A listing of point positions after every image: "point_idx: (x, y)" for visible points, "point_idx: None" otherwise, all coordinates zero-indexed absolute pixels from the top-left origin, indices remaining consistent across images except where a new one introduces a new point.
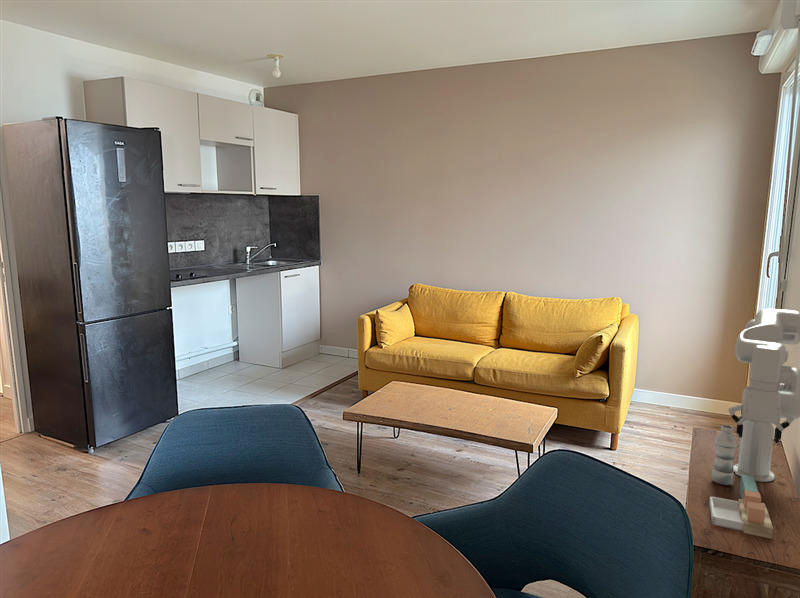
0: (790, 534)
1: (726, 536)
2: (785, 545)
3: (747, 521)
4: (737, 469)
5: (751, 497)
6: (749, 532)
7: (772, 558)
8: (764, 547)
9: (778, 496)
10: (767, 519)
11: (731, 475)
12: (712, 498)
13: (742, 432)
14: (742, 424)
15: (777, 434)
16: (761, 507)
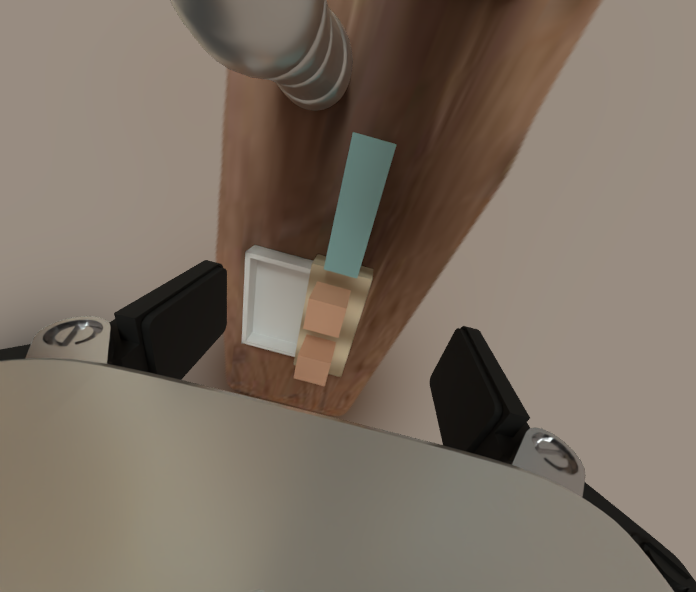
0: (386, 346)
1: (267, 362)
2: (357, 376)
3: None
4: None
5: (317, 330)
6: None
7: (321, 405)
8: None
9: (477, 147)
10: (344, 348)
11: (330, 96)
12: (252, 257)
13: (202, 355)
14: (153, 359)
15: (447, 441)
16: (321, 376)
